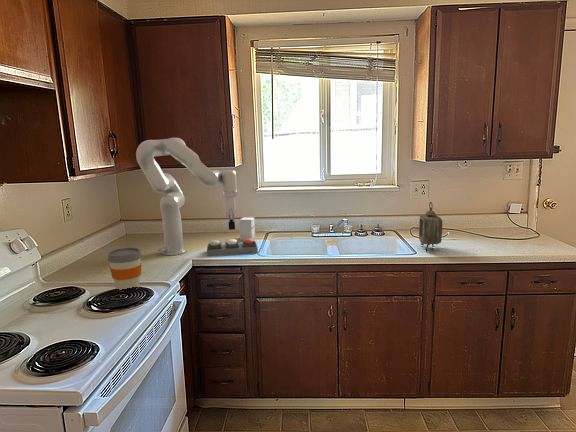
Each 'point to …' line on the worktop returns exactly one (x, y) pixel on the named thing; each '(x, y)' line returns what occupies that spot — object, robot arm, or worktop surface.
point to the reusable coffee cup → (125, 267)
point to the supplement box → (247, 228)
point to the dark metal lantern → (430, 228)
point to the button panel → (232, 249)
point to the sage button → (214, 243)
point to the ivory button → (232, 242)
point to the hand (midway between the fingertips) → (231, 229)
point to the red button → (249, 241)
